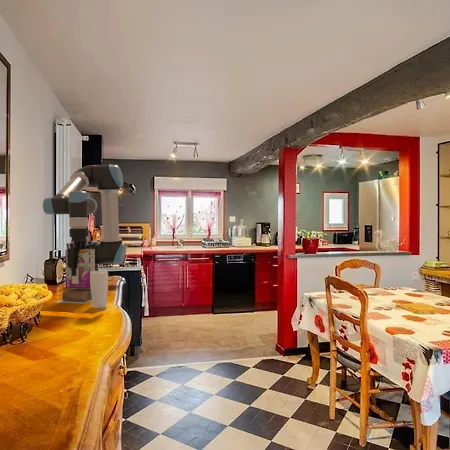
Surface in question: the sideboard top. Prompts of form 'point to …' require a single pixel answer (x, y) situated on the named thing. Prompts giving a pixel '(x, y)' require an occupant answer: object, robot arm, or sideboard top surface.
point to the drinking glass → (99, 288)
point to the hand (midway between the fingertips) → (80, 282)
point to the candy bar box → (82, 269)
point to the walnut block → (77, 294)
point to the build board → (75, 302)
